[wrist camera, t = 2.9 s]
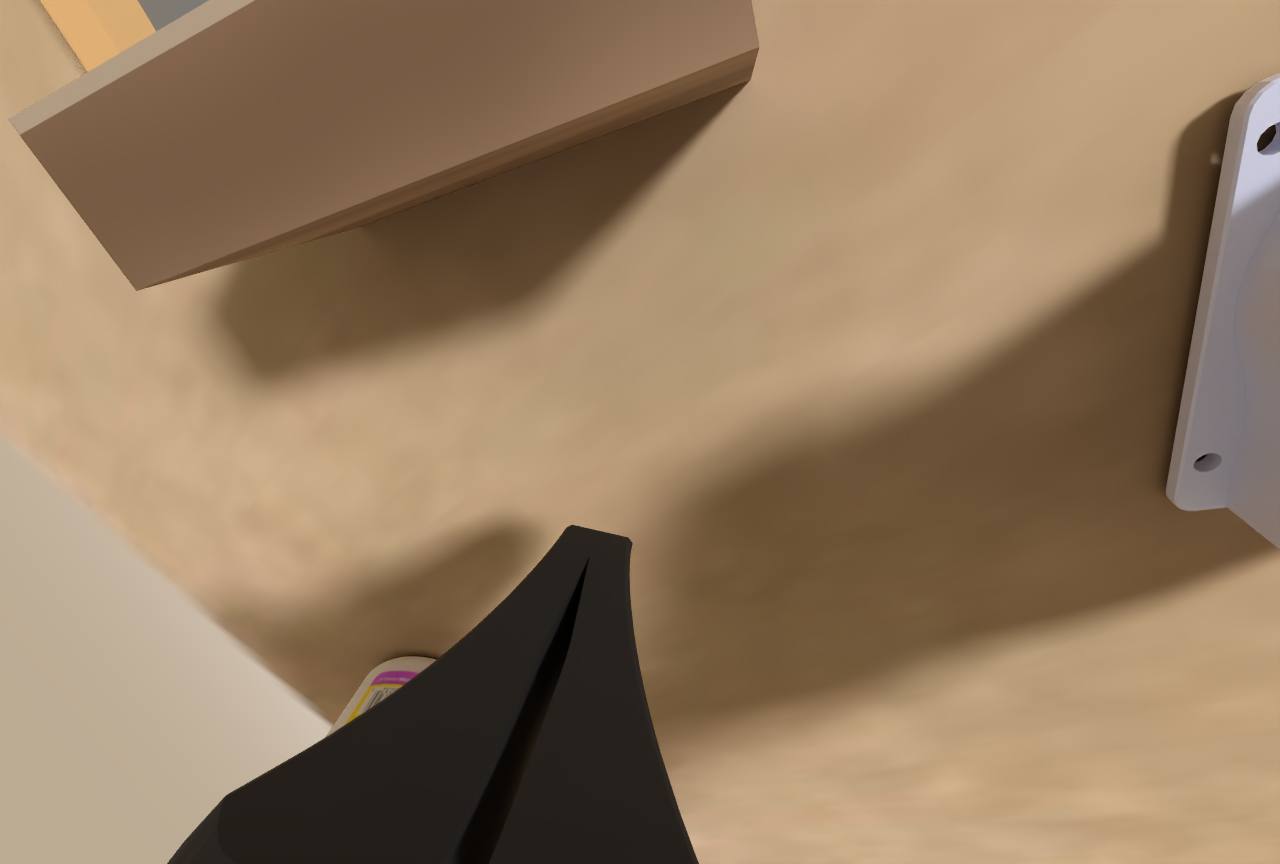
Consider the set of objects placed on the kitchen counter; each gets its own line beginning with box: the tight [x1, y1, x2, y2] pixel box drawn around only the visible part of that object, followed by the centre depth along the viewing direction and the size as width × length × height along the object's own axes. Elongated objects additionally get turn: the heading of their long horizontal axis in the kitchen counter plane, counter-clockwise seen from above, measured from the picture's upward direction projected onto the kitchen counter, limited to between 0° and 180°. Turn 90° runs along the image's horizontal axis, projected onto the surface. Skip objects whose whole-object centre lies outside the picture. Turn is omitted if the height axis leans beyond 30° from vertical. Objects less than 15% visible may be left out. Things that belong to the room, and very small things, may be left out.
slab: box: [8, 0, 759, 291], centre depth 9 cm, size 2×10×6 cm, turn 108°
